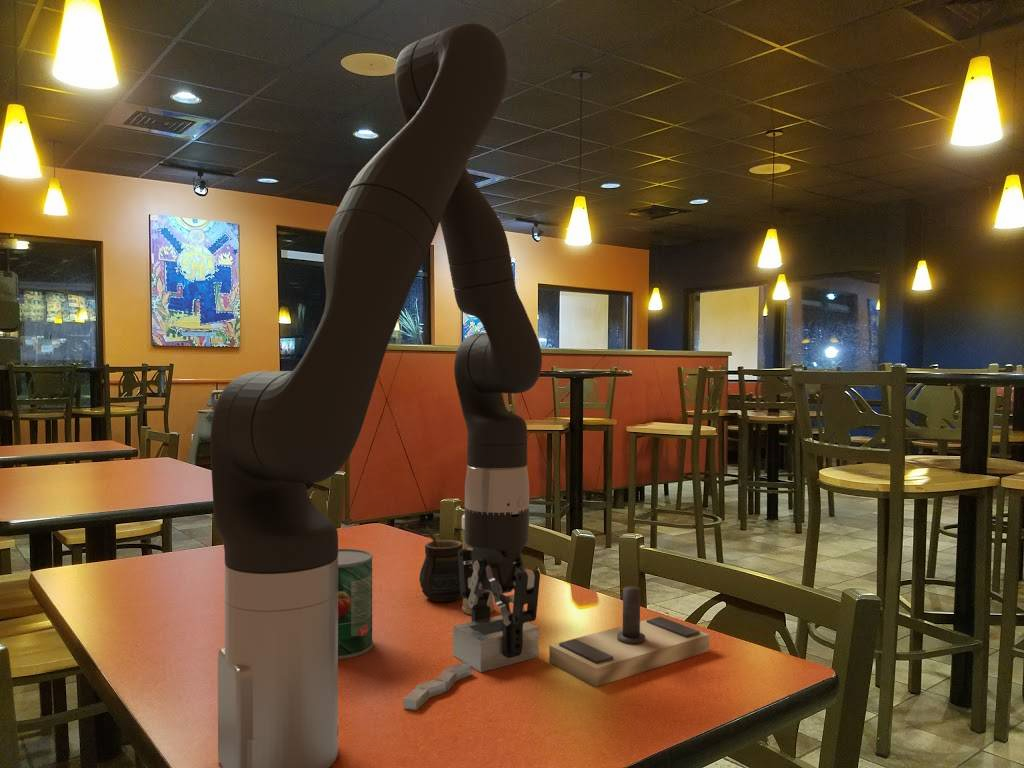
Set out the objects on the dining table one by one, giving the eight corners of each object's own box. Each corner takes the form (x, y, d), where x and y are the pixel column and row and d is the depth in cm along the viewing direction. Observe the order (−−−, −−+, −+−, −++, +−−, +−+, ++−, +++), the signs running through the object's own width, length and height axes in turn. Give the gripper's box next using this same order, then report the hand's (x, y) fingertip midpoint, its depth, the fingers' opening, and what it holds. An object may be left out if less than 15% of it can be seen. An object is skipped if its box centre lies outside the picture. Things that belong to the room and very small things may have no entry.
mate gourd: (448, 608, 104) (447, 537, 104) (407, 600, 109) (406, 531, 108) (478, 595, 110) (478, 528, 110) (439, 587, 115) (438, 523, 114)
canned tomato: (378, 635, 94) (378, 548, 93) (364, 660, 86) (364, 565, 86) (316, 634, 94) (316, 547, 94) (296, 659, 86) (296, 564, 86)
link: (480, 672, 82) (480, 641, 82) (453, 655, 87) (453, 625, 87) (538, 656, 87) (538, 627, 87) (509, 641, 92) (509, 613, 92)
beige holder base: (595, 687, 79) (596, 611, 79) (549, 662, 85) (549, 593, 85) (709, 651, 89) (710, 584, 89) (660, 631, 96) (660, 569, 96)
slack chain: (414, 711, 73) (414, 701, 73) (396, 706, 74) (396, 696, 74) (475, 674, 82) (475, 665, 82) (459, 669, 83) (459, 660, 83)
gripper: (438, 497, 91) (437, 635, 91) (505, 517, 79) (504, 675, 79) (489, 492, 95) (489, 623, 95) (560, 510, 83) (559, 659, 84)
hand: (496, 646), depth 87 cm, fingers closed on link, 6 cm apart
